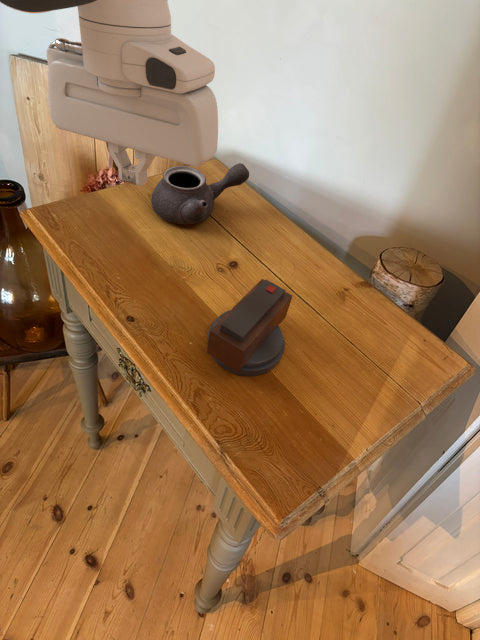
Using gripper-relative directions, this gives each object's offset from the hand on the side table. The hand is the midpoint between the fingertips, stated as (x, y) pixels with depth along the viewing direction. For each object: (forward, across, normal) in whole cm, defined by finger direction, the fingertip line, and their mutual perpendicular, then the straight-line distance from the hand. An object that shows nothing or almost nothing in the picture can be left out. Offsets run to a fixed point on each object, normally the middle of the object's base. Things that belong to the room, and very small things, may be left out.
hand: (133, 182), depth 56 cm
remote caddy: (+23, +15, +6) cm, 28 cm away
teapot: (+20, -7, +32) cm, 39 cm away
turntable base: (+25, +15, +6) cm, 30 cm away
